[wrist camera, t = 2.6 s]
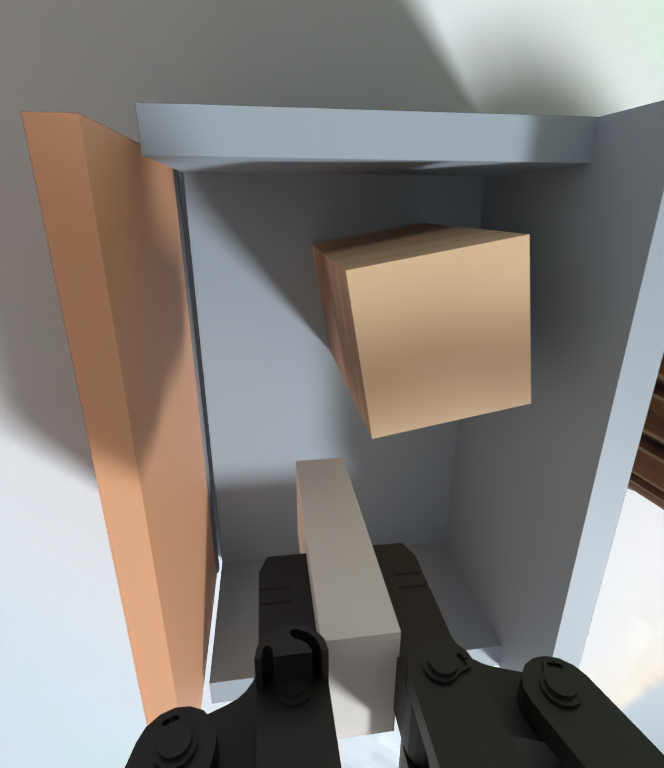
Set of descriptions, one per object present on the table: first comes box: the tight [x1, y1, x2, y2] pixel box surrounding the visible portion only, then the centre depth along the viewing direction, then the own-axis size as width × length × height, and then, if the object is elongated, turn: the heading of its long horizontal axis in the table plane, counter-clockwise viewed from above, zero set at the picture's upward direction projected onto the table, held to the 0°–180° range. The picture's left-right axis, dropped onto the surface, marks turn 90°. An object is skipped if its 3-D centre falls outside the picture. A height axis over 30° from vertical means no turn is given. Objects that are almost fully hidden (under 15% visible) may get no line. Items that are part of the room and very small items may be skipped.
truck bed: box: [135, 100, 664, 703], centre depth 19 cm, size 22×14×12 cm, turn 0°
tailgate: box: [21, 111, 219, 726], centre depth 17 cm, size 20×1×11 cm, turn 0°
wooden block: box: [311, 223, 531, 439], centre depth 17 cm, size 5×5×9 cm
